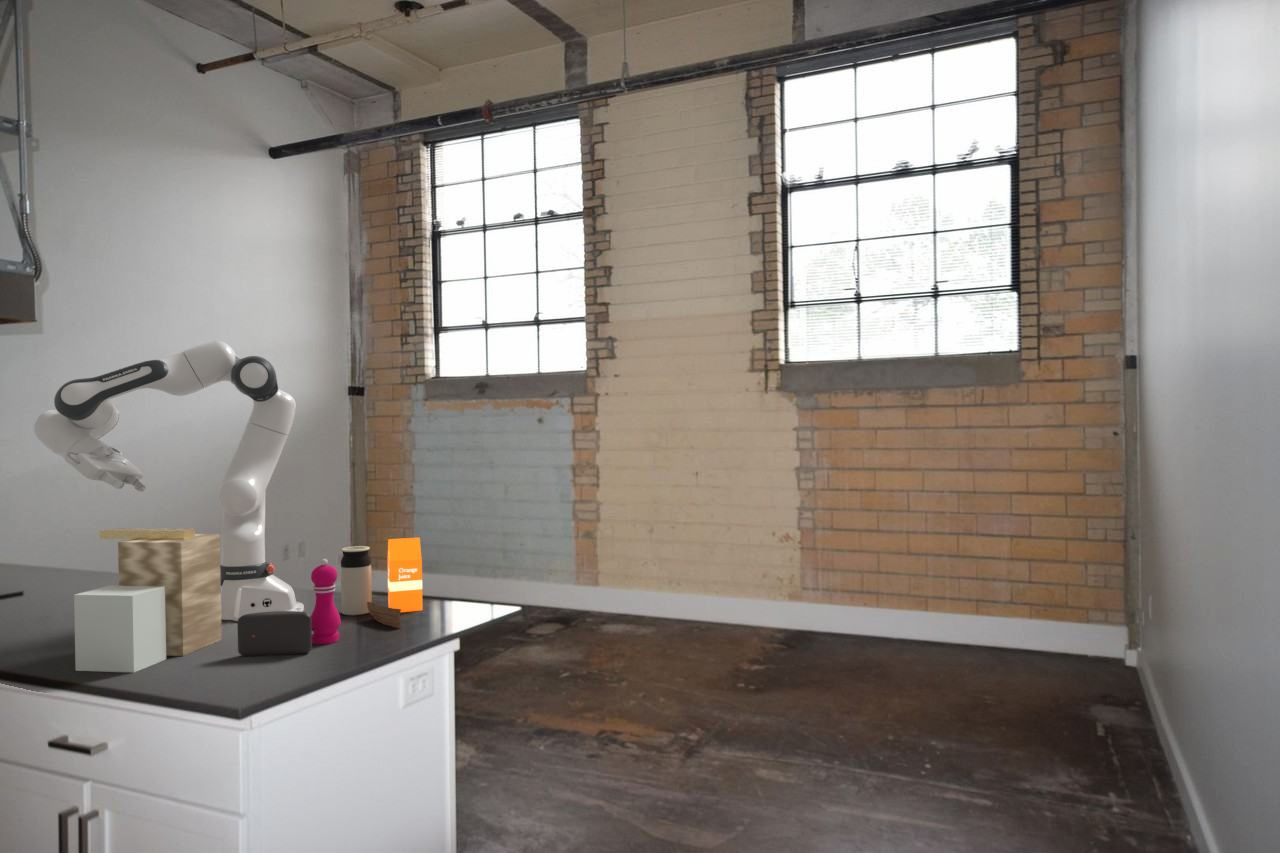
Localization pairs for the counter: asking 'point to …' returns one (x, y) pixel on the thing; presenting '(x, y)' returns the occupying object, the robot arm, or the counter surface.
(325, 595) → the pepper mill
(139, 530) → the tan long flat block
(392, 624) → the wood plank
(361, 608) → the travel mug
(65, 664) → the counter surface
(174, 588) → the oak pedestal
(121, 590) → the pale grey block
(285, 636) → the red-dot charcoal block
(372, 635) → the counter surface
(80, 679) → the counter surface
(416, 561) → the orange juice
